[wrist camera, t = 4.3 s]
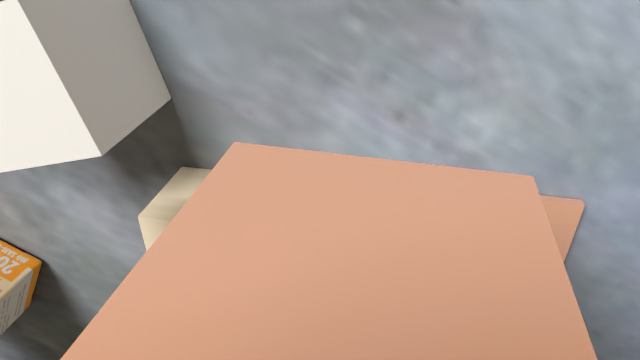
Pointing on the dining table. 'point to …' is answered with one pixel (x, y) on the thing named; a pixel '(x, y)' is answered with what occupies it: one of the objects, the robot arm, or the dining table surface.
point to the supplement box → (15, 283)
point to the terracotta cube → (346, 268)
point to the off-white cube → (72, 80)
